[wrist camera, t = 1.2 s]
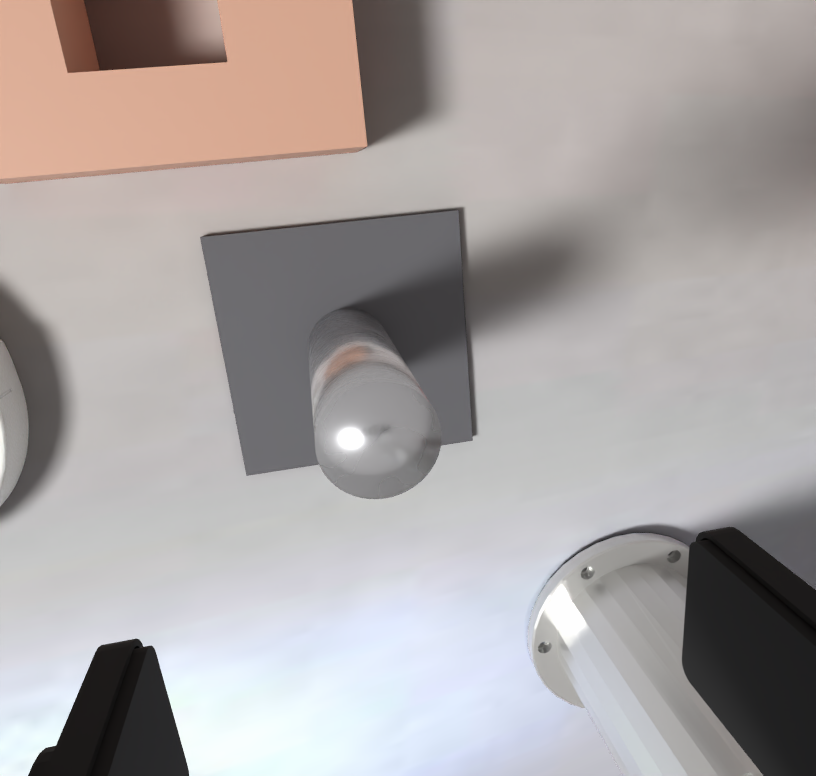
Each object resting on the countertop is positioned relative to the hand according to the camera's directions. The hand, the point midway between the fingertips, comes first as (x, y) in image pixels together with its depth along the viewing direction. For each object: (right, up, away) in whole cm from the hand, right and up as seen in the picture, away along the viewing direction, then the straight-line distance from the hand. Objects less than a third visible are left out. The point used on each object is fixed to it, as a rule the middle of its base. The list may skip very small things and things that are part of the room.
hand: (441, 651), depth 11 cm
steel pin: (-4, +6, +20) cm, 21 cm away
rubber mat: (-4, +7, +21) cm, 22 cm away
